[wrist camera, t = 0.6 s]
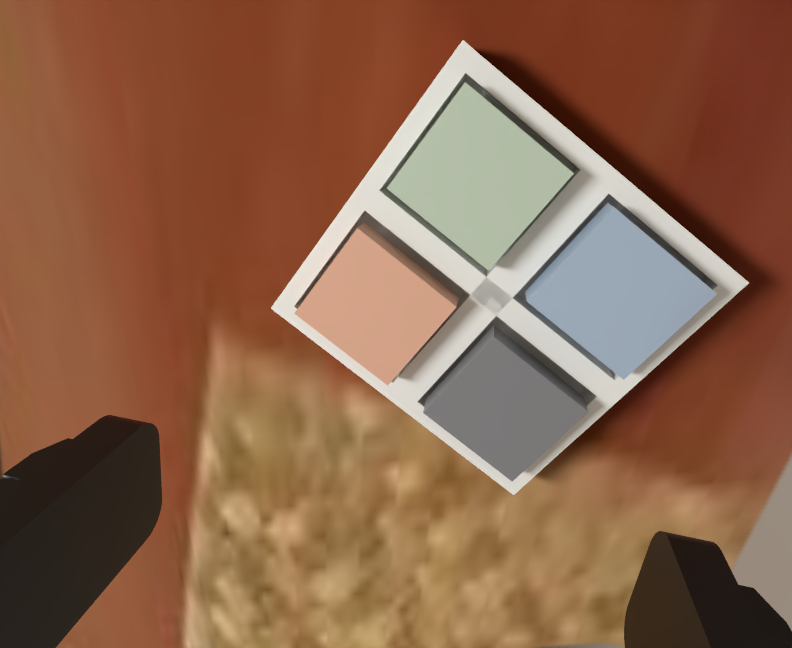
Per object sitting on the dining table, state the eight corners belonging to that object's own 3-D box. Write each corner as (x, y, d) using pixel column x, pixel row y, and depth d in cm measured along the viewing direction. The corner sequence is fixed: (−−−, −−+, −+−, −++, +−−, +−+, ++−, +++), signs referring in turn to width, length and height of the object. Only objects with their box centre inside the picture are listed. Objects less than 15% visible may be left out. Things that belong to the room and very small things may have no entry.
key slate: (607, 202, 28) (614, 207, 26) (704, 284, 28) (717, 293, 27) (524, 291, 30) (526, 301, 28) (616, 365, 31) (623, 379, 29)
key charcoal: (494, 325, 31) (493, 336, 29) (583, 396, 31) (588, 412, 30) (426, 398, 33) (422, 412, 31) (511, 463, 34) (512, 481, 32)
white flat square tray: (465, 47, 29) (462, 40, 26) (727, 269, 30) (749, 282, 28) (287, 294, 35) (270, 308, 32) (512, 468, 36) (513, 495, 34)
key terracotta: (364, 222, 30) (357, 227, 28) (458, 297, 31) (456, 307, 29) (304, 303, 32) (294, 313, 31) (393, 372, 33) (387, 385, 31)
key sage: (467, 84, 27) (465, 81, 25) (569, 170, 28) (574, 173, 26) (392, 184, 29) (386, 188, 28) (488, 262, 30) (488, 270, 28)
